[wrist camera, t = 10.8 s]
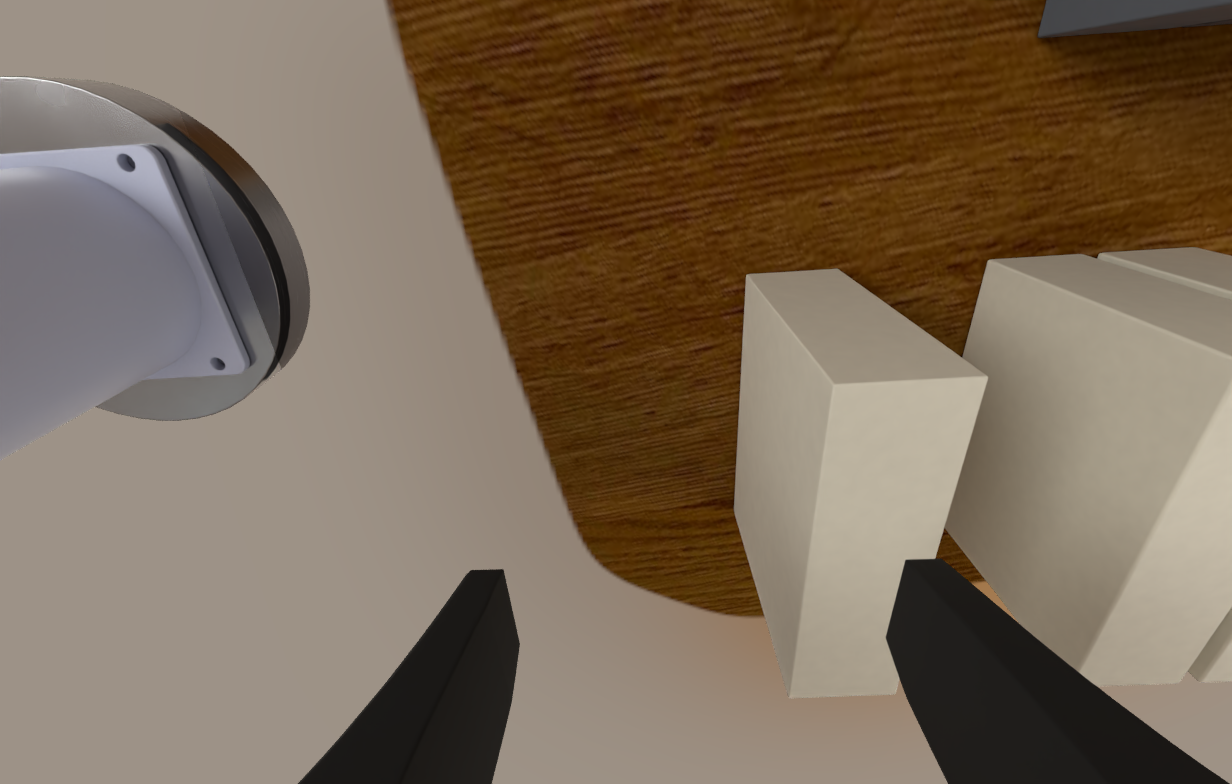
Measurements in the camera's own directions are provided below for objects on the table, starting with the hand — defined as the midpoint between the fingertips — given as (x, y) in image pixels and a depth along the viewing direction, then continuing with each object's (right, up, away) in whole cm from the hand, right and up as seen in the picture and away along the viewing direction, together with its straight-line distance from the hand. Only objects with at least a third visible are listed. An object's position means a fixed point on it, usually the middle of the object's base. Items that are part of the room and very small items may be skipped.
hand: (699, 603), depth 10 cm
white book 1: (+5, +3, +10) cm, 11 cm away
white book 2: (+12, +4, +10) cm, 16 cm away
